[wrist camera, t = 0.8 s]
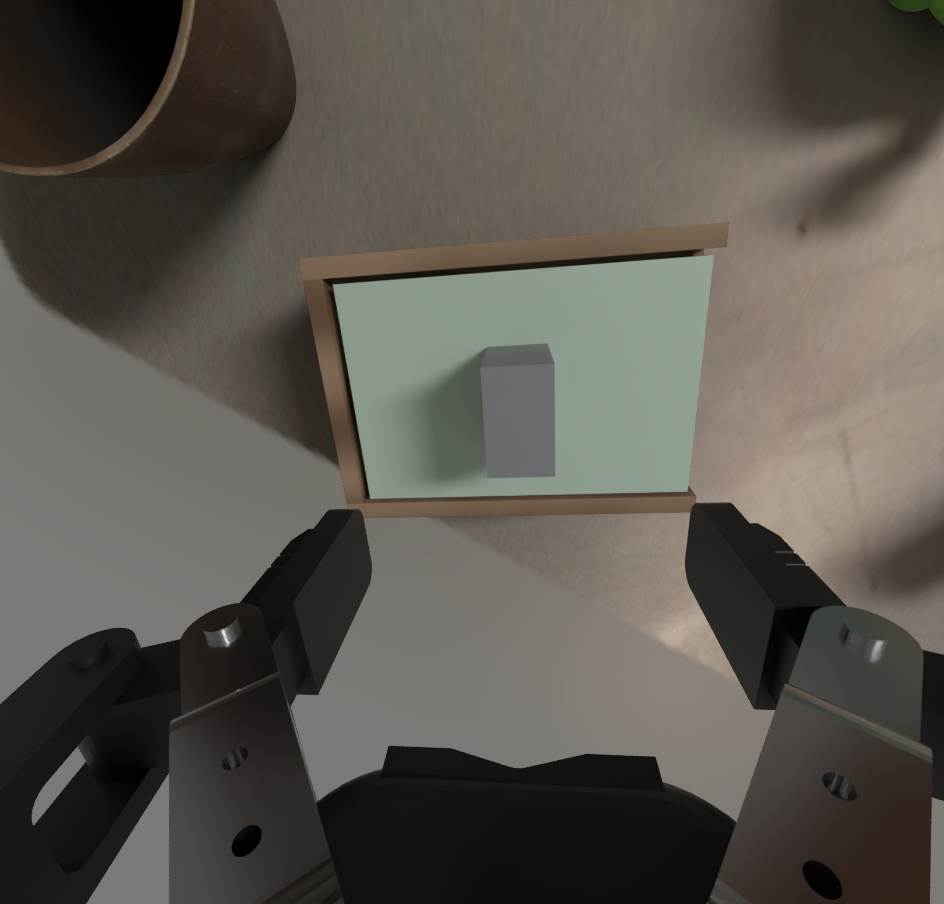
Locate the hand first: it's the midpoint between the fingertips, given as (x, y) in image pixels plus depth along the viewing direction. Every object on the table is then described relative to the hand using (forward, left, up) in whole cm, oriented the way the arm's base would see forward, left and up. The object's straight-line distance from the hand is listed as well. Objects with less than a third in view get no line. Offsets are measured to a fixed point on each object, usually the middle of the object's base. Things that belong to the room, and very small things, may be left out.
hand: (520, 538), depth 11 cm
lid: (0, 0, -15) cm, 15 cm away
